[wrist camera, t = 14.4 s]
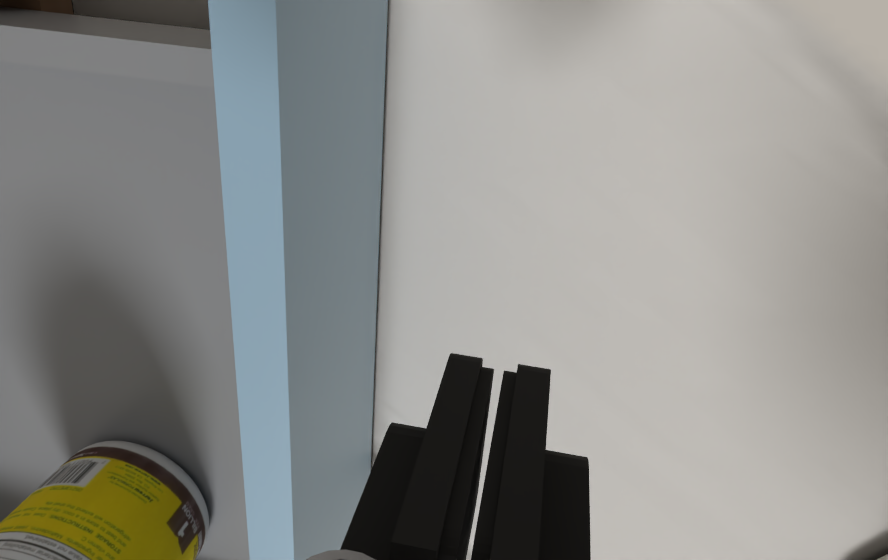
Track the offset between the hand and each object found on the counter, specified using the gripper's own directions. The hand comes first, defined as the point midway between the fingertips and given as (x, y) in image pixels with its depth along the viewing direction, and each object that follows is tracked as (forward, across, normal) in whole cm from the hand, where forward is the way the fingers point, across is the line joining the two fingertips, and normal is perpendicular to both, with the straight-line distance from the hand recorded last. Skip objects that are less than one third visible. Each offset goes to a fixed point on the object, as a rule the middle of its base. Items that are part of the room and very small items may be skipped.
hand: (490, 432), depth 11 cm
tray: (+9, +12, +6) cm, 16 cm away
